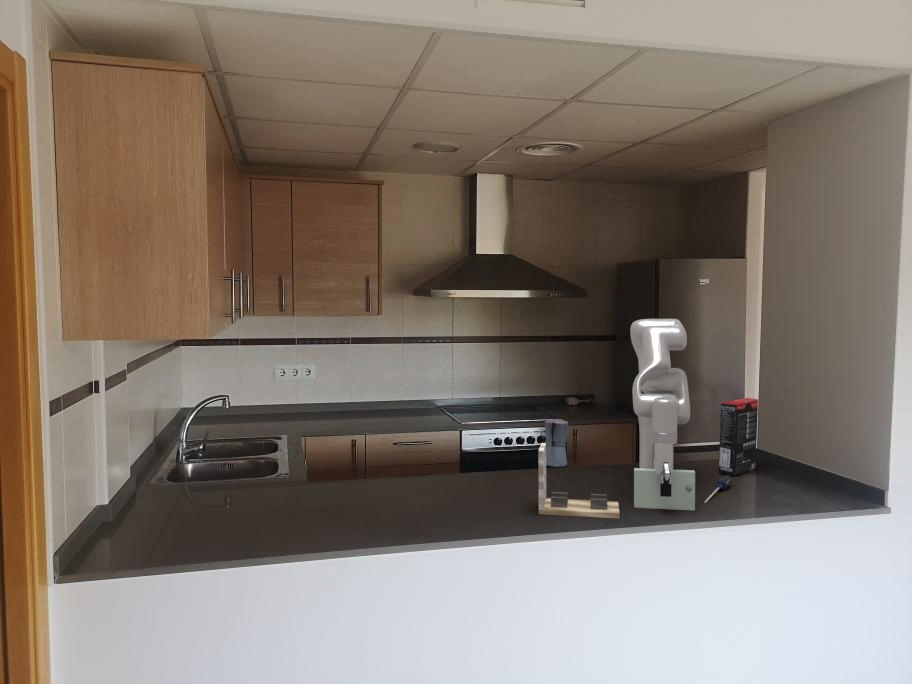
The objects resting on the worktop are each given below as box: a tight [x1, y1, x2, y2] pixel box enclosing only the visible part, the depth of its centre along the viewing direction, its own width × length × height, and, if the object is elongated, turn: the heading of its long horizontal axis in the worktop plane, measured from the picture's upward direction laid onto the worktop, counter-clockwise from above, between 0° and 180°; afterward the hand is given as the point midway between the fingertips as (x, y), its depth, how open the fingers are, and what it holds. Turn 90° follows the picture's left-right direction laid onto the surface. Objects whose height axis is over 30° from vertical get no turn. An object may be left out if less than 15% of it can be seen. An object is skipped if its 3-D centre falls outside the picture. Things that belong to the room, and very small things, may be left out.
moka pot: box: [544, 414, 569, 468], centre depth 260 cm, size 10×15×20 cm, turn 164°
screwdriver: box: [704, 474, 732, 504], centre depth 220 cm, size 26×4×4 cm, turn 142°
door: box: [633, 467, 696, 511], centre depth 205 cm, size 4×18×12 cm, turn 78°
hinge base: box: [537, 442, 621, 520], centre depth 204 cm, size 12×24×20 cm, turn 78°
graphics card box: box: [718, 397, 759, 477], centre depth 247 cm, size 17×7×27 cm, turn 130°
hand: (664, 492), depth 205 cm, fingers open, 9 cm apart
